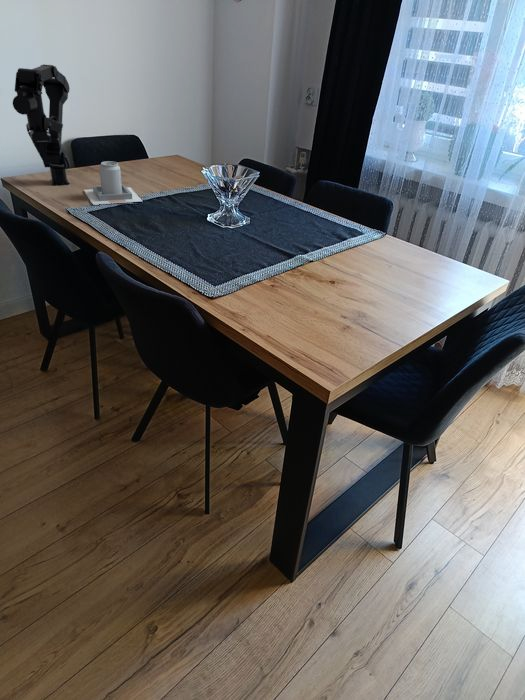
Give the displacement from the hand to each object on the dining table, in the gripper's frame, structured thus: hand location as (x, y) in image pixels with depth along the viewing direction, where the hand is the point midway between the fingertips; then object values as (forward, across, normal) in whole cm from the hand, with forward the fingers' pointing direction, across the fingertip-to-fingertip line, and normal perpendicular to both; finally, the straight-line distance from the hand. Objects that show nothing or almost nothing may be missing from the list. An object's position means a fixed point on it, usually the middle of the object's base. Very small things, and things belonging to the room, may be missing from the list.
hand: (42, 156), depth 181 cm
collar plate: (+13, -10, -22) cm, 27 cm away
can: (+13, -10, -22) cm, 27 cm away
